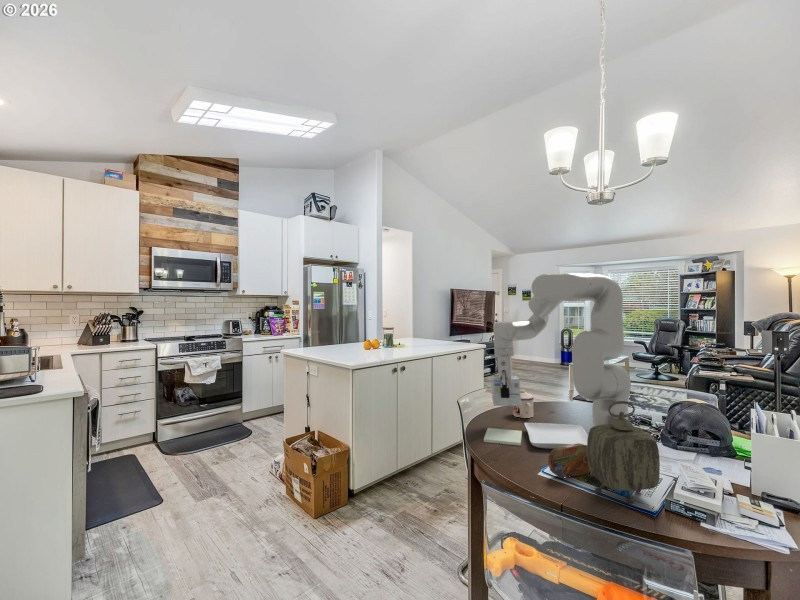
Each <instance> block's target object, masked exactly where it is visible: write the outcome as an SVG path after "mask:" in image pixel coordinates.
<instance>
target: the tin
mask: <svg viewBox="0 0 800 600" xmlns="http://www.w3.org/2000/svg"><path fill="white" fill-rule="evenodd" d="M547 463H548V468H549V470H550V472H551V473H552V474H554V475H555V476H557V477H558V478H560V479H565V478H564V477H569V476H570V478H572V477H571V476H574V477H578V476H583V475H587V474H589V473H591V472H590V469H589V465H588V458H587V445H583V444H579V443H578V444H572V445H567V446H561V447H557V448H554V449H552V450H551V451H550V453H549V455H548V462H547Z"/></svg>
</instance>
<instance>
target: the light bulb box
mask: <svg viewBox="0 0 800 600" xmlns="http://www.w3.org/2000/svg"><path fill="white" fill-rule="evenodd" d="M505 380H507V379H505ZM490 381H491V395H492V404H493V405H494V407H502V406H504V407H507V406H508V407H509V406H510V407H511V406H512V407H513V406H520V405H521V395H520V390H521V381H520V378H519V377H518V376H517V375H513V377H512V381H510V380H508V388H509V398H501V381H500V380H499V376H491V379H490ZM506 383H507V382H506Z"/></svg>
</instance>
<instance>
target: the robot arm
mask: <svg viewBox="0 0 800 600" xmlns="http://www.w3.org/2000/svg"><path fill="white" fill-rule="evenodd" d="M530 287H531V288H530V289H531V293H532V295H533V296H532V297H531V298H530V299H529V301H528V302H527V303H528V309H529V310H530V311H531V312H532V315H531V316H530V317H529V318H528V319H527V320H516V321H497V322H494V323H493V326H492V328H493V346H494V347H493V348H494V350H493V351H494V356H495V357H497V369H498V370H497V371H498V377H499V380H500V381H501V398H509V388H508V380H510V381H512V377H513V376H514V374H513V361H512V357H513V356H514V355H515V354H514V351H515V350H514V342H516V341H517V342H518V341H527V340H528V341H529V340H532V339H534V338H536V337H537V336H539V335H540V334H541V332H542V331H543V330H545V328H546V327H547V325H548V323H549V319H550V318H549V316H550V314H552V312H553V311H554V310H555V309H557V308H558V306H559V305H561V304H562V303H563V302H586V301H587V302H590V301H591V302H594V304H593V307H592V309H591V313H590V329H586V330H583V331H581V332H579V333H578V334H577V335H576V336H575V337H574V340H573V342H572V346H571V347H572V348H571V349H572V350H571V353H572V355H571V358H572V377H573V378H572V379H573V385H574V388H575V391H576V393H578V395H579V396H580V397H581V398H583V399H584V400H589V401H592V407H591V408H592V410H591V411H592V415H591V416H592V427H594V426H597V425H605V424H612V421H613V420H614V419H616V418H617V417H614V416H612V415H610V414H609V412H608V408H609V406H610V405H611V404H612V403H614V402H617V401H627V402H629V403H630V401H629V400H630V399H629V398H630V393H631V387H632V384H631V383H632V382H631V381H632V380H631V377H630V375H629V372H628V371H627V370H626V369H625V368H624V367H622V366H621V365H619V364H615V363H605V361H611V360H612V361H613V360H614V359H615V360H617V359H618V358H620V357H621V356H622V355H623V353H624V349H625V339H624V337H625V336H624V320H623V301H624V300H623V292H622V289H621V286H620V285H619V283H618V282H617V281H616V280H614V279H613V278H612V277H609V276H607V275H603V274H599V273H598V274H596V273H543V274H539V275H538V276H536V277H535V278H534V280H533V281H532V283H531V286H530ZM505 379H507V380H505ZM506 382H507V383H506ZM610 412H611V413H612V414H615V415H619V413H620V412H623V413H624V415H626V414H629V405H628V404H616V405H614V406H612V407H611V409H610ZM624 419H627V420H629V417H625V418H624Z"/></svg>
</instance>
